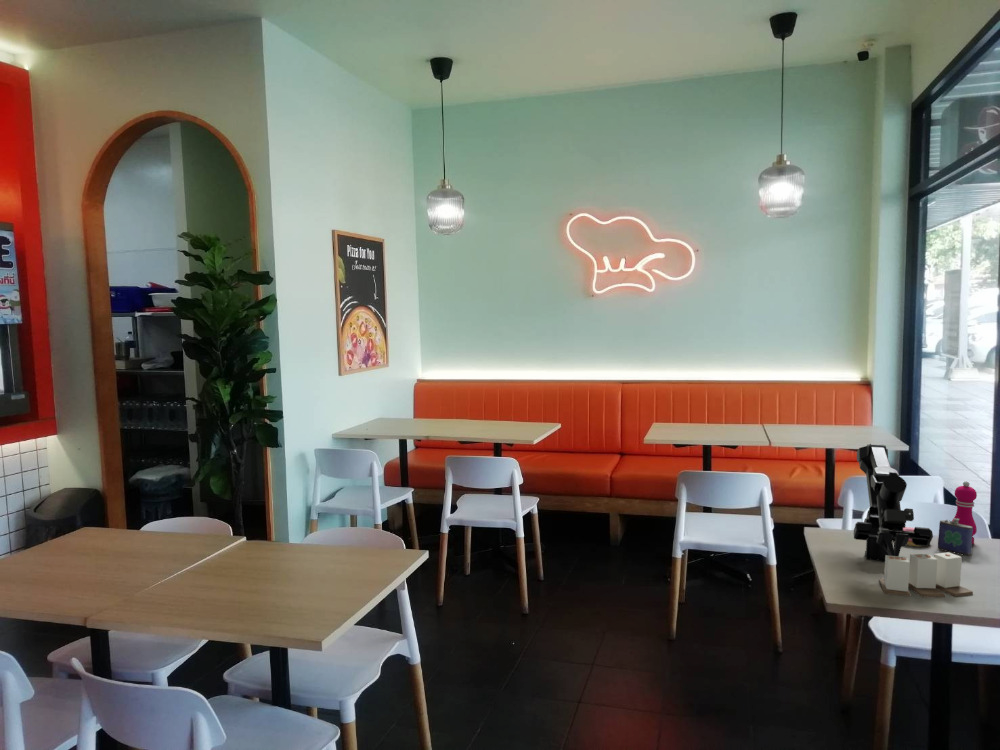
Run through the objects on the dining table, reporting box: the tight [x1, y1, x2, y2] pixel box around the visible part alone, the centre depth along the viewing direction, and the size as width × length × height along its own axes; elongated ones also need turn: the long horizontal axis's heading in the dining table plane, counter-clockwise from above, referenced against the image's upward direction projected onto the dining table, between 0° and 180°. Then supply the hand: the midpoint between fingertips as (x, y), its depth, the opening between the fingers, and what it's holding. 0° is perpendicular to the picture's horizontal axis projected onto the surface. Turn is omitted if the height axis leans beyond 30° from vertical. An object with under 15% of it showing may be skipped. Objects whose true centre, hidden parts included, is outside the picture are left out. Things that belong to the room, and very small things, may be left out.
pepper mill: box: [951, 480, 978, 545], centre depth 230 cm, size 7×7×20 cm
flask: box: [937, 517, 973, 556], centre depth 221 cm, size 9×3×11 cm, turn 37°
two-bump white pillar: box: [909, 553, 937, 588], centre depth 192 cm, size 4×5×8 cm
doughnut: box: [903, 526, 919, 547], centre depth 230 cm, size 11×11×4 cm
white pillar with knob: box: [933, 551, 963, 588], centre depth 192 cm, size 4×5×8 cm
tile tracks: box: [878, 578, 974, 598], centre depth 192 cm, size 22×16×1 cm
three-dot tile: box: [884, 555, 910, 592], centre depth 190 cm, size 4×5×8 cm
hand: (895, 562), depth 192 cm, fingers closed, pressing on three-dot tile
